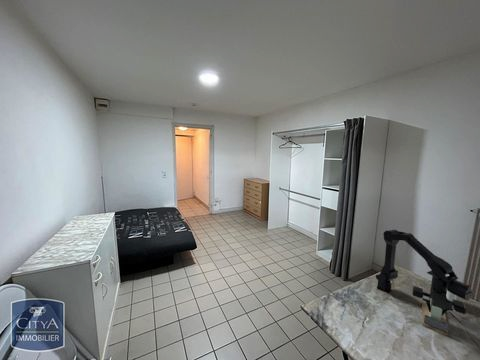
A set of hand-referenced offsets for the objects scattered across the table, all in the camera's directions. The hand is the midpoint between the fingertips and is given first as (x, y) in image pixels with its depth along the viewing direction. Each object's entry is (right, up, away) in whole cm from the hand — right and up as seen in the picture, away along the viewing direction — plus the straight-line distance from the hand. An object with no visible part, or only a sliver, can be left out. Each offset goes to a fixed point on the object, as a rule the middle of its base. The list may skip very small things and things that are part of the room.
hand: (435, 313), depth 99 cm
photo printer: (+22, -3, +13) cm, 26 cm away
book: (0, -3, 0) cm, 3 cm away
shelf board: (+2, -4, +2) cm, 5 cm away
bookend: (-4, -4, -4) cm, 7 cm away
